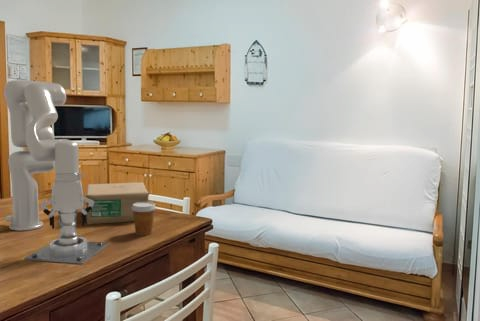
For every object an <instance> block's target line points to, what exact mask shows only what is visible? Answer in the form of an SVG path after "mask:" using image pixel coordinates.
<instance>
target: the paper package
mask: <svg viewBox="0 0 480 321" xmlns="http://www.w3.org/2000/svg"><path fill="white" fill-rule="evenodd" d="M149 196H150V193H149V192H148V190H147V189H146V184H145V183H144V182H142V181H141V182H119V183H118V182H117V183H113V182H112V183H93V184H92V183H91V184H89V183H88V184H87V189H86V196H85V197H86V198H88V199H91V200H93V201H94V205H93V207H92V209H91V210H90V211H89V212H88V213H87V214H86V224H87V225H94V224H95V225H96V224H98V225H99V224H110V223H112V224H113V223H124V222H126V223H127V222H134V215H133V210H132V206H133V204H134V203H138V202H150V201H149V200H150V199H149ZM85 204H86V208H87V207H88V206H89V203H87V202H85ZM86 208H85V209H86Z"/></svg>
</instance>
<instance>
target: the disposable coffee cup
mask: <svg viewBox="0 0 480 321" xmlns="http://www.w3.org/2000/svg"><path fill="white" fill-rule="evenodd" d="M156 208H157V206H156V203H154V202H152V201H151V202H150V201H149V202H138V203H134V204H133V206H132V210H133V215H134V221H133V222H134V229H135V234H136V235H137V236H149V235H152V233H153V226H154V218H155V211H156Z"/></svg>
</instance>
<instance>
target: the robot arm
mask: <svg viewBox="0 0 480 321" xmlns="http://www.w3.org/2000/svg"><path fill="white" fill-rule="evenodd" d="M3 89H4V90H3V93H4V94H3V95H4V96H3V97H4V99H5V103H6V106H7V108H8V112H9V116H10V118H9V120H10V136H11V143H12V145H13V146H14V147H17V148H28V150H17V151H14V152H12V153H11V154H10V155H9V156H8V158H7V161H8V162H7V163H8V169H9V173H10V178H11V198H12V201H11V202H12V215H7V216H6V217H5V219H4V221H5V222H10V224H9V226H8V228H9V230H12V231H30V230H31V231H32V230H36V229H39V228H42V227H43V225H44V221H42V220H40V213H39V211H40V210H39V206H40V208H41V210H42V211H43V213H44V214H46V215H47V217H48V218H49V226H50V227H51V229H55V213H56V212H58V211H60V210H61V208H62V207H63V206H64V205H67V204H70V205H72V206H74V207H75V208H76V210H77V211H80V212H81V226H82V227H85V224H87V213H88V212H89V211H90V210H91V209H92V207H93V205H94V201H93V200H91V199H88V198H86V196H84V188H83V182H82V180H81V179H82V178H84V173H80V162H79V160H80V159H79V144H78V143H77V142H76V141H73V140H72V141H71V140H70V139H67V138H62V139H61V138H60V139H57V138H56V139H55V132H54V129H53V128H52V127H51V126H52V125H53V124H55V123H56V122H57V120H58V118H59V115H58V111H57V109H56V106H57V107H61V106H63V105H65V103H66V101H67V93H66V91H65V88H64V87H63V86H62V85H61V84H59V83H55V82H50V81H41V80H40V81H38V80H23V79H17V80H9V81H7V82H6V83H5V85H4V88H3ZM53 170H54V176H55V177H54V178H55V181H52V186H51V187H52V188H51V198H49V199H48V200H46V201H44V202H41V203H40V204H39V184H38V182H37V181H36V179H34V177H33V176H32V175H33V174H42V173H50V172H53ZM86 202H87V203H89V206H88V207H87V206H86V207H87V208H84V203H86ZM50 204H51V210H49V209H48V208H47V207H46V206H48V205H50Z"/></svg>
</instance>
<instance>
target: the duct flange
mask: <svg viewBox="0 0 480 321" xmlns="http://www.w3.org/2000/svg"><path fill="white" fill-rule="evenodd" d="M77 237H78V244H77V245H73V246H59V245H58V241H59V237H58V238H55V239H53V240H51V241H50V242H49V244H47V245H45V246H43V247H41V248H39V249H38V250H36V251H35V252H33V253H31V254H29V255H27V256H25V257H24V261H33V262H34V261H35V262H48V263H49V262H51V263H61V264H62V263H64V264H76V265H77V264H79V265H83V264H84V263H86V262H87V261H88V260H90V259H91V258H92V257H94V256H95V255H96V254H98V253H100V251H102V250H103V249H104V248H106V247H108V246H109V242H103V241H102V242H101V241H99V242H98V241H88V239H87V238H86V237H83V236H77Z"/></svg>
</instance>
